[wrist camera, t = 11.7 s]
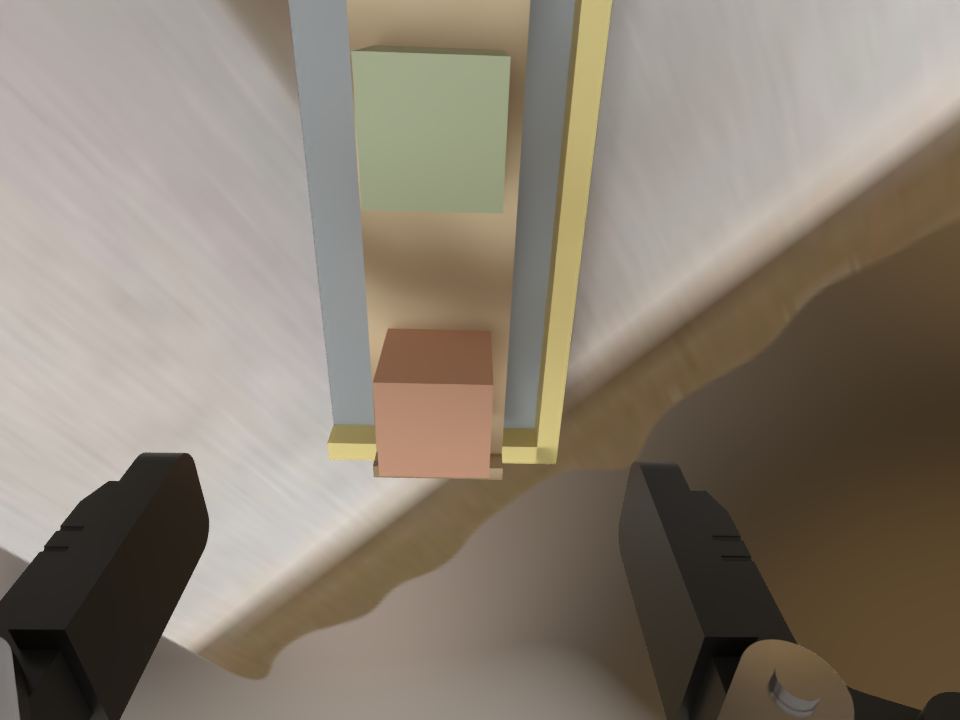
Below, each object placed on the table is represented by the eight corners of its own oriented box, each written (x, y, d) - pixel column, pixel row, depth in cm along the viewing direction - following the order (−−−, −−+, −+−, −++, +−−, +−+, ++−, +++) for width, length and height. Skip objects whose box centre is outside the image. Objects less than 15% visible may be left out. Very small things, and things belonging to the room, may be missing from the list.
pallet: (361, -47, 20) (335, -63, 16) (524, -40, 20) (536, -55, 16) (386, 416, 30) (373, 477, 26) (498, 418, 30) (502, 479, 26)
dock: (307, -85, 23) (262, -113, 18) (592, -73, 23) (624, -98, 18) (349, 397, 34) (329, 459, 29) (544, 401, 34) (555, 464, 29)
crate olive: (374, 45, 18) (350, 51, 15) (503, 49, 19) (510, 56, 15) (380, 177, 20) (361, 209, 17) (497, 181, 20) (502, 214, 17)
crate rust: (387, 328, 23) (372, 382, 20) (490, 330, 23) (493, 385, 20) (392, 413, 25) (379, 476, 22) (486, 415, 25) (488, 478, 22)
